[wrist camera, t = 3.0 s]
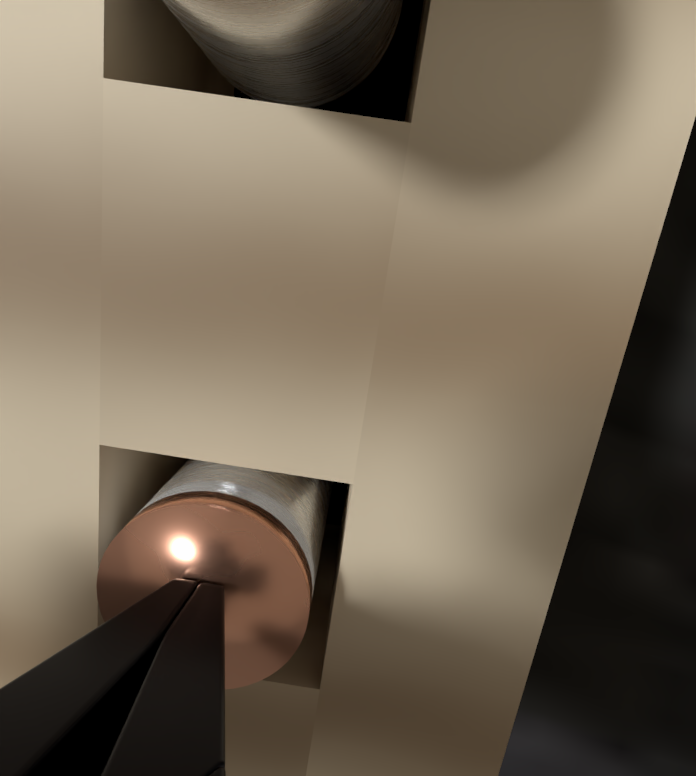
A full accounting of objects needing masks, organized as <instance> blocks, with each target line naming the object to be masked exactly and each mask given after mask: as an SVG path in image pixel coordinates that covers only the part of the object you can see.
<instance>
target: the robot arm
mask: <svg viewBox="0 0 696 776" xmlns="http://www.w3.org/2000/svg"><path fill="white" fill-rule="evenodd" d="M0 776H226V771H225V593H224V587H223V586H222V585H216V584H210V583H201V584H198V582H196V581H191V580H185V579H173V580H171V581H170V582H168V583H166V584H165V585H163V586H162V587H160V588H159V589H157V590H155V591H154V592H152V593H151V594H149V595H147V596H146V597H144V598H143V599H141V600H139V601H138V602H136V603H135V604H133V605H132V606H130V607H128V608H127V609H125V610H124V611H122V612H120V613H119V614H117V615H116V616H114V617H112V618H111V619H109V620H108V621H106V622H105V623H103V624H101V625H100V626H98V627H97V628H95V629H93V630H92V631H90V632H89V633H87V634H86V635H84V636H82V637H81V638H79V639H78V640H76V641H74V642H73V643H71V644H70V645H68V646H66V647H65V648H63V649H62V650H60V651H59V652H57V653H55V654H54V655H52V656H51V657H49V658H47V659H46V660H44V661H43V662H41V663H40V664H38V665H36V666H35V667H33V668H32V669H30V670H28V671H27V672H25V673H24V674H22V675H20V676H19V677H17V678H16V679H14V680H13V681H11V682H9V683H8V684H6V685H5V686H3V687H1V688H0Z"/></svg>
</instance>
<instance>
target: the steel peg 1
mask: <svg viewBox="0 0 696 776" xmlns="http://www.w3.org/2000/svg"><path fill="white" fill-rule="evenodd" d="M162 1H163V2H164V3H165V4H166V6H167V7H168V8H169V9H170V11H171V12H172V13H173V15H174V16H175V17H176V18H177V20H178V21H179V22H180V23H181V25H182V26H183V27H184V28H185V30H186V31H187V32H188V33H189V35H190V36H191V37H192V38H193V40H194V41H195V42H196V44H197V45H198V46H199V47H200V49H201V50H202V51H203V52H204V54H205V55H206V56H207V57H208V59H209V60H210V61H211V62H212V64H213V65H214V66H215V67H216V69H217V70H218V71H219V72H220V74H221V75H222V76H223V77H224V78H225V79H226V80H227V81H229V82H230V83H231V84H232V85H233V86H234V87H236V88H237V89H238V90H240V91H241V92H242V93H244V94H246V95H247V96H249V97H251V98H253V99H255V100H257V101H264V102H271V103H278V104H285V105H292V106H298V107H305V108H311V107H316V106H320V105H324V104H326V103H329V102H332V101H334V100H336V99H338V98H340V97H342V96H344V95H345V94H347V93H349V92H350V91H351V90H353V89H354V88H355V87H357V86H358V85H359V84H360V83H361V82H362V81H363V80H364V79H365V78H366V77H367V76H368V75H370V73H371V72H372V71H373V70H374V68H375V67H376V66H377V65H378V63H379V62H380V60H381V59H382V57H383V55H384V54H385V52H386V51H387V49H388V47H389V45H390V42H391V40H392V38H393V36H394V34H395V31H396V27H397V24H398V21H399V18H400V13H401V9H402V4H403V0H162Z"/></svg>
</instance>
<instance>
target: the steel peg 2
mask: <svg viewBox="0 0 696 776" xmlns="http://www.w3.org/2000/svg"><path fill="white" fill-rule="evenodd" d="M333 482H334V481H328V480H322V479H316V478H309V477H303V476H296V475H290V474H284V473H277V472H271V471H264V470H258V469H252V468H245V467H239V466H232V465H226V464H220V463H213V462H207V461H201V460H194V459H189V460H188V461H187V462H186V463H185V464H184V465H183V466H182V467H181V468H180V469H179V470H178V471H177V472H176V473H175V474H174V476H173V477H172V478H171V479H170V480H169V481H168V482H167V483H166V484H165V485H164V486H163V487H162V488H161V489H160V490H159V491H158V492H157V493H156V494H155V495H154V496H153V498H152V499H151V500H150V501H149V502H148V503H147V504H146V505H145V506H144V507H143V508H142V509H141V510H140V511H139V512H138V513H137V514H136V515H135V516H134V517H133V519H132V520H131V521H130V522H129V523H128V524H127V525H126V526H125V527H124V528H123V529H122V530H121V531H120V532H119V533H118V534H117V536H116V537H115V538H114V539H113V540H112V541H111V543H110V544H109V546H108V548H107V549H106V551H105V553H104V555H103V557H102V560H101V562H100V566H99V570H98V574H97V585H96V588H97V600H98V604H99V609H100V612H101V615H102V618H103V620H104V623H105V622H106V621H108V620H109V619H111V618H112V617H114V616H116V615H117V614H119V613H120V612H122V611H124V610H125V609H127V608H128V607H130V606H132V605H133V604H135V603H136V602H138V601H139V600H141V599H143V598H144V597H146V596H147V595H149V594H151V593H152V592H154V591H155V590H157V589H159V588H160V587H162V586H163V585H165V584H166V583H168V582H170V581H171V580H173V579H185V580H191V581H196V582H198V584H201V583H210V584H216V585H222V586H223V587H224V593H225V690H226V689H235V688H239V687H244V686H248V685H250V684H253V683H256V682H259V681H261V680H263V679H265V678H267V677H269V676H270V675H272V674H273V673H275V672H276V671H277V670H279V669H280V668H281V667H282V666H283V665H284V664H286V663H287V662H288V661H289V659H290V658H291V657H292V656H293V655H294V653H295V652H296V650H297V649H298V647H299V645H300V643H301V642H302V639H303V637H304V634H305V631H306V627H307V623H308V618H309V612H310V607H311V602H312V596H313V591H314V585H315V580H316V574H317V569H318V563H319V558H320V553H321V547H322V542H323V536H324V531H325V525H326V520H327V514H328V509H329V504H330V498H331V493H332V487H333Z"/></svg>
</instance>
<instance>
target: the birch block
mask: <svg viewBox="0 0 696 776" xmlns="http://www.w3.org/2000/svg"><path fill="white" fill-rule="evenodd" d="M695 117H696V0H423V6H422V13H421V19H420V25H419V32H418V38H417V44H416V51H415V57H414V63H413V70H412V76H411V82H410V89H409V95H408V101H407V108H406V114H405V120H404V122H401V121H394V120H388V119H381V118H374V117H367V116H360V115H353V114H346V113H340V112H333V111H326V110H319V109H312V108H305V107H298V106H292V105H285V104H278V103H271V102H264V101H257V100H250V99H244V98H237V97H234V86H233V85H232V84H231V83H230V82H229V81H227V80H226V79H225V78H224V77H223V76H222V75H221V74H220V72H219V71H218V70H217V69H216V67H215V66H214V65H213V64H212V62H211V61H210V60H209V59H208V57H207V56H206V55H205V54H204V52H203V51H202V50H201V49H200V47H199V46H198V45H197V44H196V42H195V41H194V40H193V38H192V37H191V36H190V35H189V33H188V32H187V31H186V30H185V28H184V27H183V26H182V25H181V23H180V22H179V21H178V20H177V18H176V17H175V16H174V15H173V13H172V12H171V11H170V9H169V8H168V7H167V6H166V4H165V3H164V2H163V1H162V0H0V688H1V687H3V686H5V685H6V684H8V683H9V682H11V681H13V680H14V679H16V678H17V677H19V676H20V675H22V674H24V673H25V672H27V671H28V670H30V669H32V668H33V667H35V666H36V665H38V664H40V663H41V662H43V661H44V660H46V659H47V658H49V657H51V656H52V655H54V654H55V653H57V652H59V651H60V650H62V649H63V648H65V647H66V646H68V645H70V644H71V643H73V642H74V641H76V640H78V639H79V638H81V637H82V636H84V635H86V634H87V633H89V632H90V631H92V630H93V629H95V628H97V627H98V626H100V625H101V624H103V623H104V620H103V618H102V615H101V612H100V609H99V604H98V600H97V588H96V585H97V574H98V570H99V566H100V562H101V560H102V557H103V555H104V553H105V551H106V549H107V548H108V546H109V544H110V543H111V541H112V540H113V539H114V538H115V537H116V536H117V534H118V533H119V532H120V531H121V530H122V529H123V528H124V527H125V526H126V525H127V524H128V523H129V522H130V521H131V520H132V519H133V517H134V516H135V515H136V514H137V513H138V512H139V511H140V510H141V509H142V508H143V507H144V506H145V505H146V504H147V503H148V502H149V501H150V500H151V499H152V498H153V496H154V495H155V494H156V493H157V492H158V491H159V490H160V489H161V488H162V487H163V486H164V485H165V484H166V483H167V482H168V481H169V480H170V479H171V478H172V477H173V476H174V474H175V473H176V472H177V471H178V470H179V469H180V468H181V467H182V466H183V465H184V464H185V463H186V462H187V461H188V460H189V459H194V460H201V461H207V462H213V463H220V464H226V465H232V466H239V467H245V468H252V469H258V470H264V471H271V472H277V473H284V474H290V475H296V476H303V477H309V478H316V479H322V480H328V481H335V482H341V483H347V487H346V493H345V500H344V506H343V512H342V519H341V525H335V524H328V523H326V525H325V531H324V536H323V542H322V547H321V553H320V558H319V563H318V569H317V574H316V580H315V585H314V591H313V596H312V602H311V607H310V612H309V618H308V623H307V627H306V631H305V634H304V637H303V639H302V642H301V643H300V645H299V647H298V649H297V650H296V652H295V653H294V655H293V656H292V657H291V658H290V659H289V661H288V662H287V663H286V664H284V665H283V666H282V667H281V668H280V669H279V670H277V671H276V672H275V673H273V674H272V675H270V676H269V677H267V678H265V679H263V680H261V681H259V682H256V683H253V684H250V685H248V686H244V687H239V688H235V689H226V690H225V771H226V776H498V774H499V771H500V767H501V764H502V761H503V757H504V754H505V751H506V747H507V744H508V741H509V737H510V734H511V731H512V727H513V724H514V721H515V717H516V714H517V711H518V707H519V704H520V700H521V697H522V694H523V690H524V687H525V684H526V680H527V677H528V674H529V670H530V667H531V664H532V660H533V657H534V654H535V650H536V647H537V644H538V640H539V637H540V634H541V630H542V627H543V624H544V620H545V617H546V614H547V610H548V607H549V604H550V600H551V597H552V594H553V590H554V587H555V584H556V580H557V577H558V574H559V570H560V567H561V564H562V560H563V557H564V554H565V550H566V547H567V544H568V540H569V537H570V534H571V530H572V527H573V524H574V520H575V517H576V514H577V510H578V507H579V504H580V500H581V497H582V494H583V490H584V487H585V484H586V480H587V477H588V474H589V470H590V467H591V464H592V460H593V457H594V454H595V450H596V447H597V444H598V440H599V437H600V434H601V430H602V427H603V424H604V420H605V417H606V414H607V410H608V407H609V404H610V400H611V397H612V394H613V390H614V387H615V384H616V380H617V377H618V374H619V370H620V367H621V364H622V360H623V357H624V354H625V350H626V347H627V344H628V340H629V337H630V334H631V330H632V327H633V324H634V320H635V317H636V314H637V310H638V307H639V304H640V300H641V297H642V294H643V290H644V287H645V284H646V280H647V277H648V274H649V270H650V267H651V264H652V260H653V257H654V254H655V250H656V247H657V244H658V240H659V237H660V234H661V230H662V227H663V224H664V220H665V217H666V213H667V210H668V207H669V203H670V200H671V197H672V193H673V190H674V187H675V183H676V180H677V177H678V173H679V170H680V167H681V163H682V160H683V157H684V153H685V150H686V147H687V143H688V140H689V137H690V133H691V130H692V127H693V123H694V120H695Z"/></svg>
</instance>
